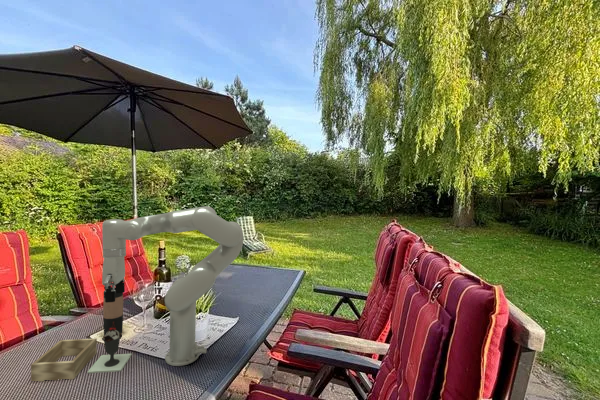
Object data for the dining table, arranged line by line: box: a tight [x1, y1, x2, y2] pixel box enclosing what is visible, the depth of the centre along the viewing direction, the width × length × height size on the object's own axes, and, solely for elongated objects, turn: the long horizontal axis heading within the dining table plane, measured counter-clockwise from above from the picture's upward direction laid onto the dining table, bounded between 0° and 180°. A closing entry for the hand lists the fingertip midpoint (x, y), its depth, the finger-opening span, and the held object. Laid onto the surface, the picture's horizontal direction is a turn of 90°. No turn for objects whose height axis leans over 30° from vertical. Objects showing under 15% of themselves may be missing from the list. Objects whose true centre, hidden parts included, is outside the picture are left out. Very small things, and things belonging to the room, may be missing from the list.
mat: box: [87, 353, 133, 374], centre depth 119 cm, size 11×11×1 cm
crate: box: [30, 337, 98, 382], centre depth 116 cm, size 13×17×6 cm
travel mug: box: [102, 288, 124, 337], centre depth 141 cm, size 8×8×20 cm
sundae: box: [101, 322, 123, 367], centre depth 118 cm, size 7×7×15 cm
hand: (115, 297), depth 119 cm, fingers open, 9 cm apart
